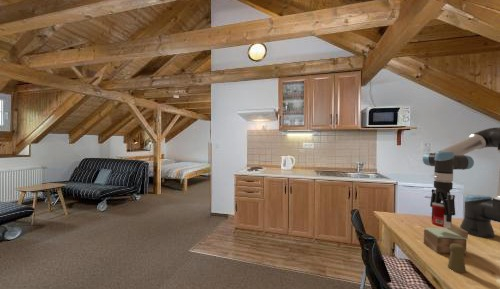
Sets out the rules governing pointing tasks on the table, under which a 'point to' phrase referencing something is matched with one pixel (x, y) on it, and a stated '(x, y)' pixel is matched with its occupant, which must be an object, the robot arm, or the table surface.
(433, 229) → the lid
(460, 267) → the cork
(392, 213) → the table surface
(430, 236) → the box
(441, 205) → the canned food
